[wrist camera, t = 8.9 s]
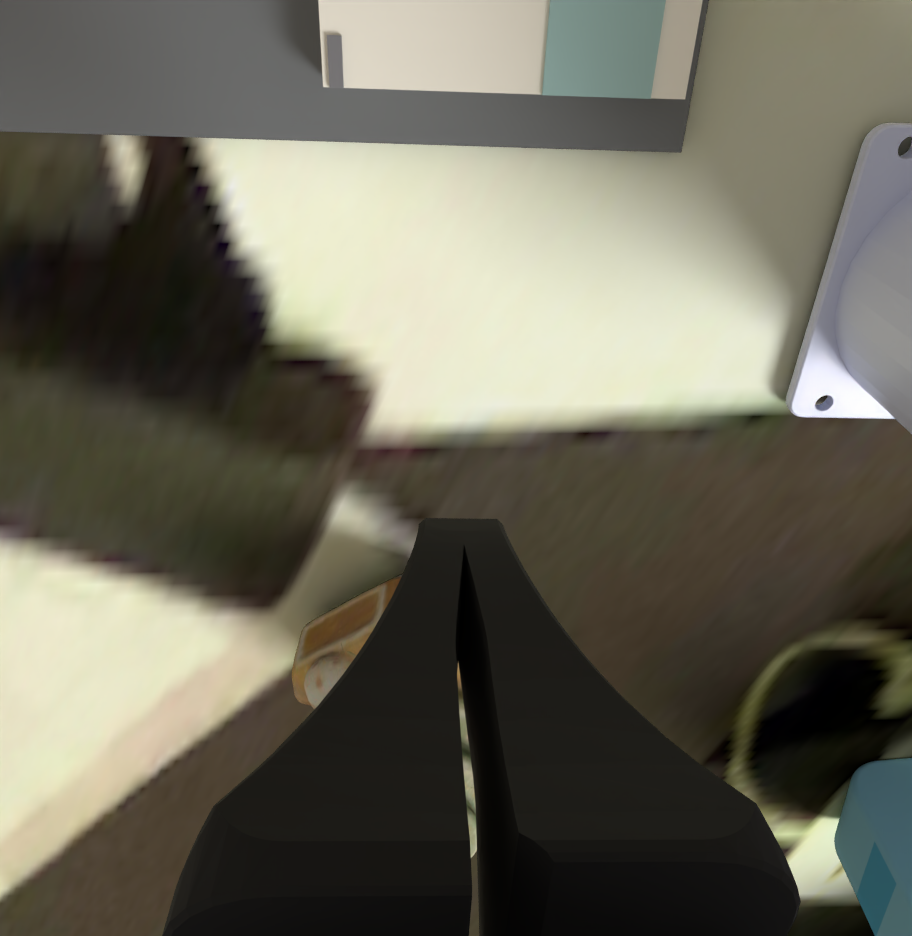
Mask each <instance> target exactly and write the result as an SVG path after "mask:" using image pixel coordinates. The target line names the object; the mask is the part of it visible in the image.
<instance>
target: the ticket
mask: <svg viewBox="0 0 912 936" xmlns="http://www.w3.org/2000/svg"><path fill="white" fill-rule="evenodd" d="M702 2H703V0H318V4H319V22H320V40H321V58H322V76H323V87H329V88H361V89H390V90H420V91H449V92H479V93H508V94H538V95H551V96H581V97H610V98H640V99H651V98H656V99H685V97H686V92H687V86H688V80H689V75H690V69H691V64H692V58H693V52H694V47H695V41H696V35H697V30H698V24H699V18H700V13H701V7H702Z"/></svg>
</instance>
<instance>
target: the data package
mask: <svg viewBox="0 0 912 936" xmlns="http://www.w3.org/2000/svg"><path fill="white" fill-rule="evenodd" d="M834 842H835V849H836V852H837V855H838V857H839V859H840V862H841V864H842V866H843V868H844V870H845V872H846V874H847V877H848V879H849V881H850V883H851V885H852V887H853V890H854V892H855V894H856V896H857V898H858V900H859V903H860V905H861V907H862V909H863V911H864V913H865V916H866V918H867V920H868V922H869V924H870V926H871V929H872V931H873V933H874V935H875V936H912V758H904V759H892V760H880V761H872V762H868V763H866V764H864V765H862V766H860V767H859V768H858V769H857V770H856V771H855V772H854V774H853V776H852V778H851V781H850V785H849V788H848V791H847V795H846V798H845V802H844V805H843V809H842V812H841V816H840V819H839V823H838V826H837V830H836V833H835V841H834Z"/></svg>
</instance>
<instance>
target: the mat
mask: <svg viewBox="0 0 912 936" xmlns="http://www.w3.org/2000/svg"><path fill="white" fill-rule="evenodd" d="M708 2H709V0H703V2H702V7H701V13H700V18H699V24H698V30H697V35H696V41H695V47H694V52H693V58H692V64H691V69H690V75H689V80H688V86H687V92H686V97H685V99H656V98H651V99H640V98H610V97H581V96H551V95H538V94H508V93H479V92H449V91H420V90H390V89H361V88H329V87H323V76H322V58H321V40H320V22H319V4H318V0H0V131H9V132H41V133H73V134H105V135H137V136H169V137H201V138H233V139H265V140H297V141H329V142H361V143H393V144H425V145H457V146H489V147H521V148H553V149H585V150H617V151H649V152H681V151H682V146H683V140H684V135H685V129H686V123H687V118H688V112H689V107H690V101H691V96H692V90H693V85H694V79H695V74H696V68H697V63H698V57H699V52H700V46H701V41H702V35H703V30H704V24H705V19H706V13H707V7H708Z"/></svg>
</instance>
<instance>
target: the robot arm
mask: <svg viewBox="0 0 912 936" xmlns="http://www.w3.org/2000/svg"><path fill="white" fill-rule="evenodd" d="M907 137H911V139H912V123H884V124H880V125H878V126H876V127H875V128H873V129H872V130H871V131H870V132H869V133H868V134H867V135H866V137H865V139H864V141H863V143H862V146H861V149H860V152H859V156H858V159H857V162H856V166H855V169H854V172H853V176H852V179H851V182H850V186H849V189H848V192H847V196H846V199H845V202H844V206H843V209H842V212H841V216H840V219H839V222H838V226H837V229H836V232H835V236H834V239H833V242H832V246H831V249H830V252H829V256H828V259H827V263H826V266H825V269H824V273H823V276H822V279H821V283H820V286H819V289H818V293H817V296H816V299H815V303H814V306H813V309H812V313H811V316H810V319H809V323H808V326H807V329H806V333H805V336H804V339H803V343H802V346H801V349H800V353H799V356H798V359H797V363H796V366H795V369H794V373H793V376H792V379H791V383H790V386H789V389H788V393H787V396H786V405H787V407H788V409H789V410H790V411H791V412H792V413H793V414H794V415H796V416H799V417H820V418H876V419H896V420H897V421H898V422H899V423H900V424H901V425H902V426H903V427H905V428H906V429H907V430H908V431H909V432H910V433H911V434H912V142H911V146H910V148H909V150H908V151H907V152H906V153H905V154H903V155H901V156H899V155H898V147H899V145H900V144H901V142H902V141H903V140H904V139H906V138H907ZM825 395H827V399H826V400H825V401H824V402H823V403H822V404H819V405H815V403H816V401H817V400H818V399H819V398H820V397H822V396H825ZM458 663H459V671H460V679H461V687H462V695H463V703H464V710H465V718H466V726H467V734H468V741H469V749H470V757H471V765H472V772H473V782H474V793H475V807H476V836H477V866H478V899H479V934H480V936H787V934H788V932H789V930H790V928H791V926H792V924H793V922H794V920H795V919H796V916H797V912H798V909H799V905H800V902H801V901H800V897H799V893H798V888H797V885H796V882H795V880H794V877H793V875H792V872H791V870H790V867H789V865H788V862H787V860H786V858H785V856H784V853H783V852H782V850H781V848H780V846H779V844H778V842H777V840H776V838H775V837H774V835H773V833H772V831H771V829H770V827H769V826H768V824H767V822H766V820H765V818H764V817H763V815H762V813H761V811H760V809H759V808H758V806H757V804H756V803H755V802H753V801H752V800H750V799H749V798H747V797H746V796H745V795H743V794H742V793H740V792H739V791H737V790H736V789H735V788H733V787H732V786H730V785H729V784H727V783H726V782H725V781H723V780H722V779H720V778H719V777H717V776H716V775H715V774H713V773H712V772H710V771H709V770H707V769H706V768H705V767H703V766H702V765H700V764H699V763H698V762H696V761H695V760H694V759H692V758H691V757H690V756H689V755H688V754H686V753H685V752H684V751H683V750H681V749H680V748H679V747H678V746H676V745H675V744H674V743H673V742H671V741H670V740H669V739H668V738H666V737H665V736H664V735H663V734H662V733H661V732H660V731H659V730H658V729H657V728H655V727H654V726H653V725H652V724H651V723H650V722H649V721H648V720H647V719H646V718H645V717H643V716H642V715H641V714H640V713H639V712H638V711H637V710H636V709H635V708H634V707H633V706H631V705H630V704H629V703H628V702H627V701H626V700H625V699H624V698H623V697H622V696H621V695H620V694H619V693H618V692H617V691H616V690H615V688H614V687H613V686H612V685H611V684H610V683H609V682H608V681H607V680H606V679H605V678H604V677H603V676H602V675H601V674H600V672H599V671H598V670H597V669H596V668H595V667H594V666H593V665H592V663H591V662H590V661H589V660H588V659H587V658H586V656H585V655H584V654H583V653H582V652H581V650H580V649H579V648H578V647H577V645H576V644H575V643H574V642H573V640H572V639H571V638H570V636H569V635H568V634H567V632H566V631H565V630H564V628H563V627H562V626H561V624H560V623H559V622H558V620H557V619H556V618H555V616H554V615H553V613H552V612H551V610H550V609H549V607H548V606H547V605H546V603H545V601H544V600H543V598H542V597H541V595H540V594H539V592H538V590H537V589H536V587H535V586H534V584H533V583H532V581H531V579H530V578H529V576H528V574H527V573H526V571H525V569H524V567H523V566H522V564H521V562H520V560H519V558H518V557H517V555H516V553H515V551H514V549H513V547H512V545H511V543H510V541H509V539H508V536H507V534H506V532H505V529H504V527H503V525H502V524H501V523H500V522H499V521H498V520H497V519H448V518H426V519H424V520H423V521H422V522H421V523H419V528H418V534H417V538H416V541H415V545H414V548H413V550H412V553H411V556H410V558H409V561H408V563H407V566H406V568H405V571H404V573H403V575H402V577H401V579H400V581H399V583H398V585H397V587H396V589H395V592H394V594H393V596H392V598H391V600H390V601H389V603H388V605H387V607H386V609H385V610H384V612H383V614H382V615H381V617H380V619H379V621H378V622H377V624H376V626H375V628H374V629H373V631H372V633H371V634H370V636H369V637H368V639H367V641H366V642H365V644H364V645H363V647H362V648H361V650H360V651H359V653H358V654H357V656H356V657H355V658H354V660H353V661H352V663H351V664H350V665H349V667H348V668H347V670H346V671H345V672H344V674H343V675H342V676H341V678H340V679H339V680H338V681H337V683H336V684H335V685H334V686H333V688H332V689H331V690H330V691H329V693H328V694H327V695H326V696H325V698H324V699H323V700H322V701H321V702H320V704H319V705H318V706H317V707H316V708H315V709H314V711H313V712H312V713H311V714H310V715H309V716H308V717H307V718H306V720H305V721H304V722H303V723H302V724H301V725H300V726H299V727H298V728H297V729H296V730H295V731H294V732H293V733H292V734H291V735H290V736H289V737H288V738H287V739H286V740H285V741H284V742H283V743H282V744H281V745H280V746H279V747H278V748H277V750H276V751H275V752H274V753H273V754H272V755H271V756H270V757H268V758H267V759H266V760H265V761H264V762H263V763H262V764H261V765H260V766H259V767H258V768H257V769H255V770H254V771H253V772H252V773H251V774H250V775H249V776H247V777H246V778H245V779H244V780H243V781H242V782H241V783H239V784H238V785H237V786H236V787H235V788H234V789H233V790H231V791H230V792H229V793H228V794H227V795H226V796H225V797H223V798H222V799H221V800H220V801H219V802H218V803H216V804H215V805H214V806H213V808H212V810H211V812H210V813H209V815H208V817H207V819H206V821H205V823H204V825H203V827H202V829H201V831H200V832H199V834H198V836H197V839H196V841H195V843H194V845H193V847H192V849H191V851H190V853H189V856H188V858H187V861H186V863H185V866H184V868H183V870H182V873H181V875H180V878H179V881H178V883H177V886H176V889H175V893H174V896H173V900H172V903H171V907H170V910H169V914H168V917H167V921H166V924H165V928H164V932H163V935H162V936H469V924H470V912H471V900H472V876H471V852H470V835H469V825H468V815H467V804H466V792H465V781H464V769H463V756H462V742H461V728H460V714H459V697H458V681H457V670H458Z"/></svg>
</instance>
